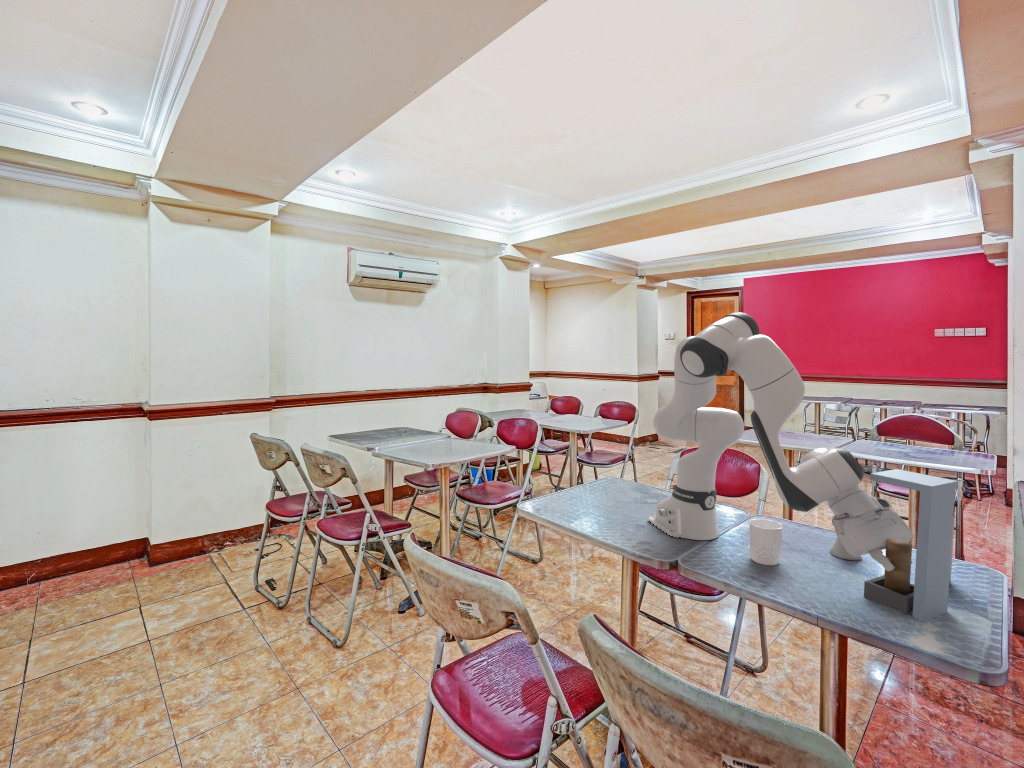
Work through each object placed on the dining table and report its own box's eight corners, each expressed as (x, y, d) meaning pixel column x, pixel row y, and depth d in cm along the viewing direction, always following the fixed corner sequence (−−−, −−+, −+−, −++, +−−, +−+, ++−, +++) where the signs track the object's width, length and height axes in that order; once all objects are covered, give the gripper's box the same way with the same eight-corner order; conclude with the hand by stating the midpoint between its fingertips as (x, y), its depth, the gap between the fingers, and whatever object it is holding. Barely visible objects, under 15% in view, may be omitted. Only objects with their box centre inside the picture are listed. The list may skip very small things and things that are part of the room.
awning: (864, 596, 111) (870, 473, 109) (890, 587, 115) (896, 468, 113) (923, 621, 101) (932, 486, 99) (949, 610, 105) (958, 481, 103)
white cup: (743, 560, 130) (745, 524, 129) (753, 551, 136) (754, 516, 135) (776, 569, 125) (777, 531, 124) (784, 559, 131) (786, 523, 130)
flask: (851, 550, 137) (852, 515, 136) (867, 561, 130) (869, 525, 129) (824, 549, 137) (825, 515, 137) (839, 560, 130) (840, 524, 129)
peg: (879, 592, 110) (881, 540, 109) (890, 588, 112) (893, 537, 111) (901, 601, 106) (904, 547, 105) (913, 597, 108) (916, 544, 107)
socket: (863, 596, 111) (864, 581, 111) (885, 588, 115) (886, 574, 114) (906, 614, 104) (907, 598, 103) (928, 606, 107) (929, 590, 107)
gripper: (838, 510, 110) (884, 570, 101) (892, 499, 118) (938, 553, 110) (818, 523, 114) (860, 581, 106) (871, 511, 122) (914, 565, 114)
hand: (900, 567), depth 108 cm, fingers closed on peg, 4 cm apart
